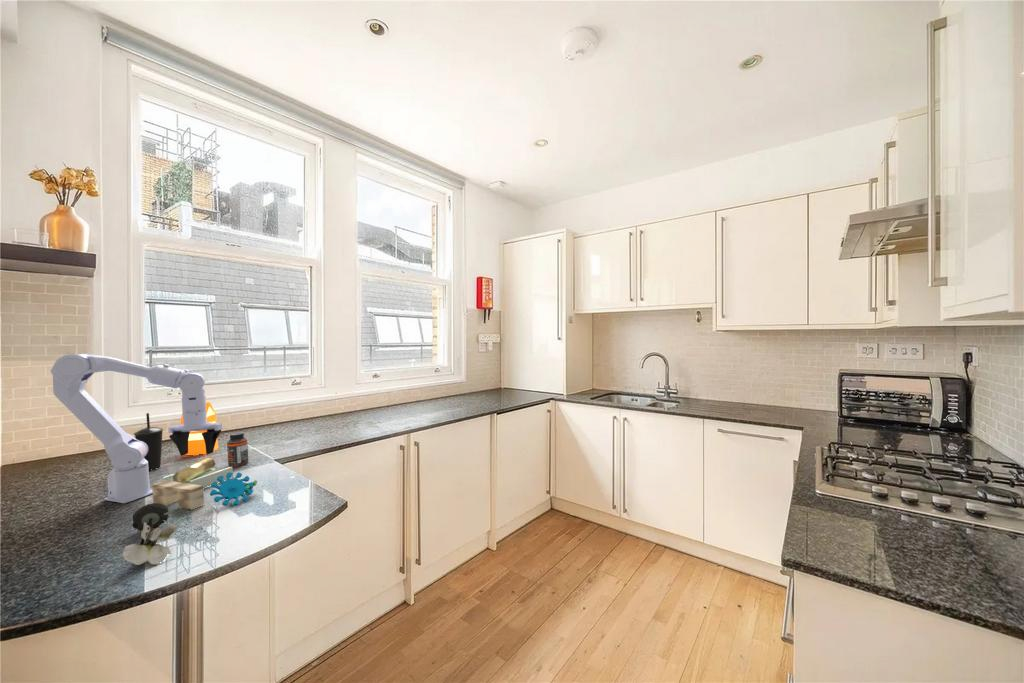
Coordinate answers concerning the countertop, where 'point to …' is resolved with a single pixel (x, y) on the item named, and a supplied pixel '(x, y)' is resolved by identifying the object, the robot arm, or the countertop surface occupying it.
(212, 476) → the pale green slotted tray
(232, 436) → the supplement bottle
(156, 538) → the artificial flower
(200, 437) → the orange juice
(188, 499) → the beam
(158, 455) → the drinking cup
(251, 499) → the countertop surface
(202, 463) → the axle
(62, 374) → the robot arm
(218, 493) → the gear
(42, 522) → the countertop surface
